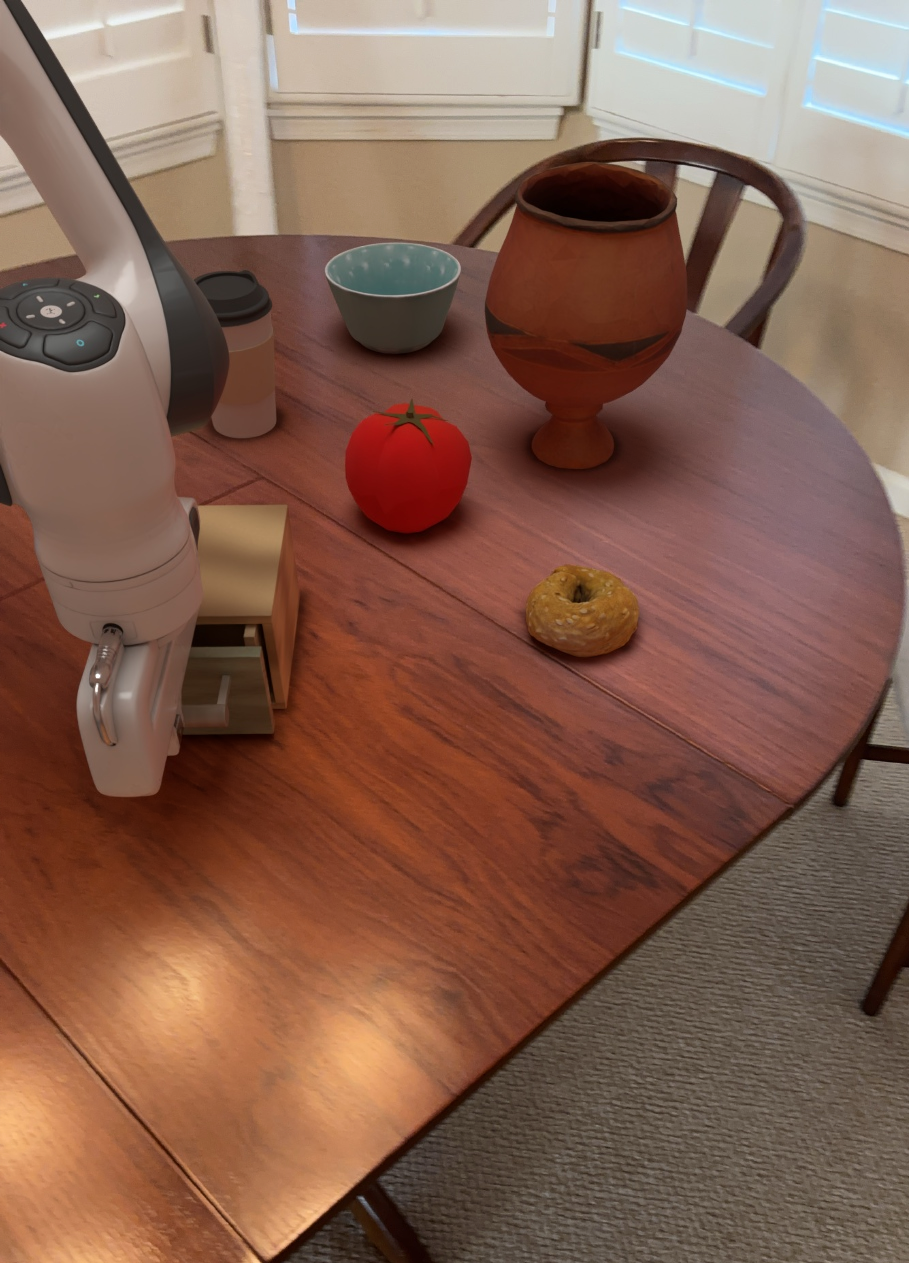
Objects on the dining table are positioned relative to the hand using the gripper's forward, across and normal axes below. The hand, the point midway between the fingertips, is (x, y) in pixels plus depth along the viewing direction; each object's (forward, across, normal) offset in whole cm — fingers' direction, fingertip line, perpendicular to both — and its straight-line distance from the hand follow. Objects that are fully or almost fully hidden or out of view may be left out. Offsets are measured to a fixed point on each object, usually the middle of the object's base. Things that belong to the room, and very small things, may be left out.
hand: (170, 741), depth 74 cm
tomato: (+7, +37, -16) cm, 41 cm away
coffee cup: (+7, +55, +2) cm, 56 cm away
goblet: (+7, +49, -33) cm, 60 cm away
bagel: (+7, +20, -31) cm, 38 cm away
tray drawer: (+6, +11, 0) cm, 12 cm away
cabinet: (+6, +17, 0) cm, 18 cm away
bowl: (+7, +75, -14) cm, 77 cm away
